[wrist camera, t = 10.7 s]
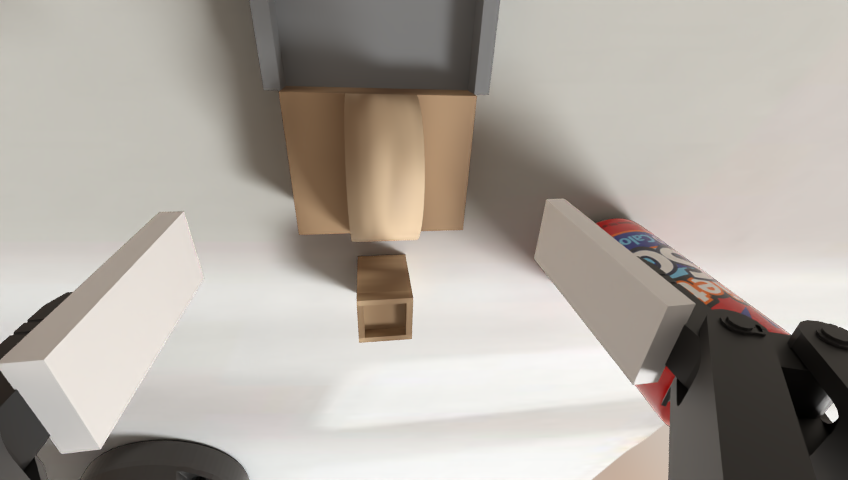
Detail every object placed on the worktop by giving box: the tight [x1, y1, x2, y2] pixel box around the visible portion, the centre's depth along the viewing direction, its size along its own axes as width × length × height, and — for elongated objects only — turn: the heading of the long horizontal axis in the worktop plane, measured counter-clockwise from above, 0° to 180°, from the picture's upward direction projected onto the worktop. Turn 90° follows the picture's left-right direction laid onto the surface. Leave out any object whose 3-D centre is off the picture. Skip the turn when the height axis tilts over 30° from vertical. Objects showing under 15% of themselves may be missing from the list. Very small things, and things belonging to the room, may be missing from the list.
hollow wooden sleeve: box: [357, 255, 413, 343], centre depth 27 cm, size 4×4×5 cm
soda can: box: [596, 218, 791, 427], centre depth 25 cm, size 8×8×15 cm
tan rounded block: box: [279, 86, 477, 242], centre depth 21 cm, size 10×8×8 cm
